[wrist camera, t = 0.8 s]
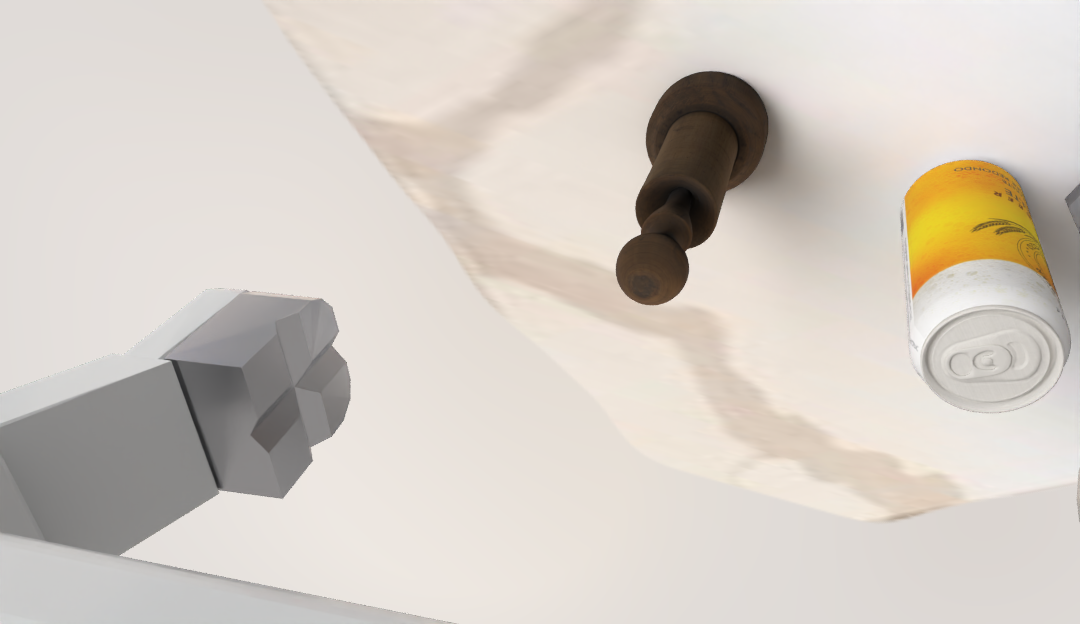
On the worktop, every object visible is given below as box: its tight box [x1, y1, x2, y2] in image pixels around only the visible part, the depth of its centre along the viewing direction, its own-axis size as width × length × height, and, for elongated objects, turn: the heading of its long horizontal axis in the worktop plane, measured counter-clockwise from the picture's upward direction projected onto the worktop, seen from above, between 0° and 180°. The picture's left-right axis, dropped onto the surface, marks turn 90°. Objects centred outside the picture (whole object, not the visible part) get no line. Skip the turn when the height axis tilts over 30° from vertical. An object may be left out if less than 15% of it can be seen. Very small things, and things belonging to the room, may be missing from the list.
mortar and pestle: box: [616, 71, 768, 305], centre depth 42 cm, size 7×6×18 cm
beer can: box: [900, 160, 1071, 413], centre depth 42 cm, size 6×6×15 cm
